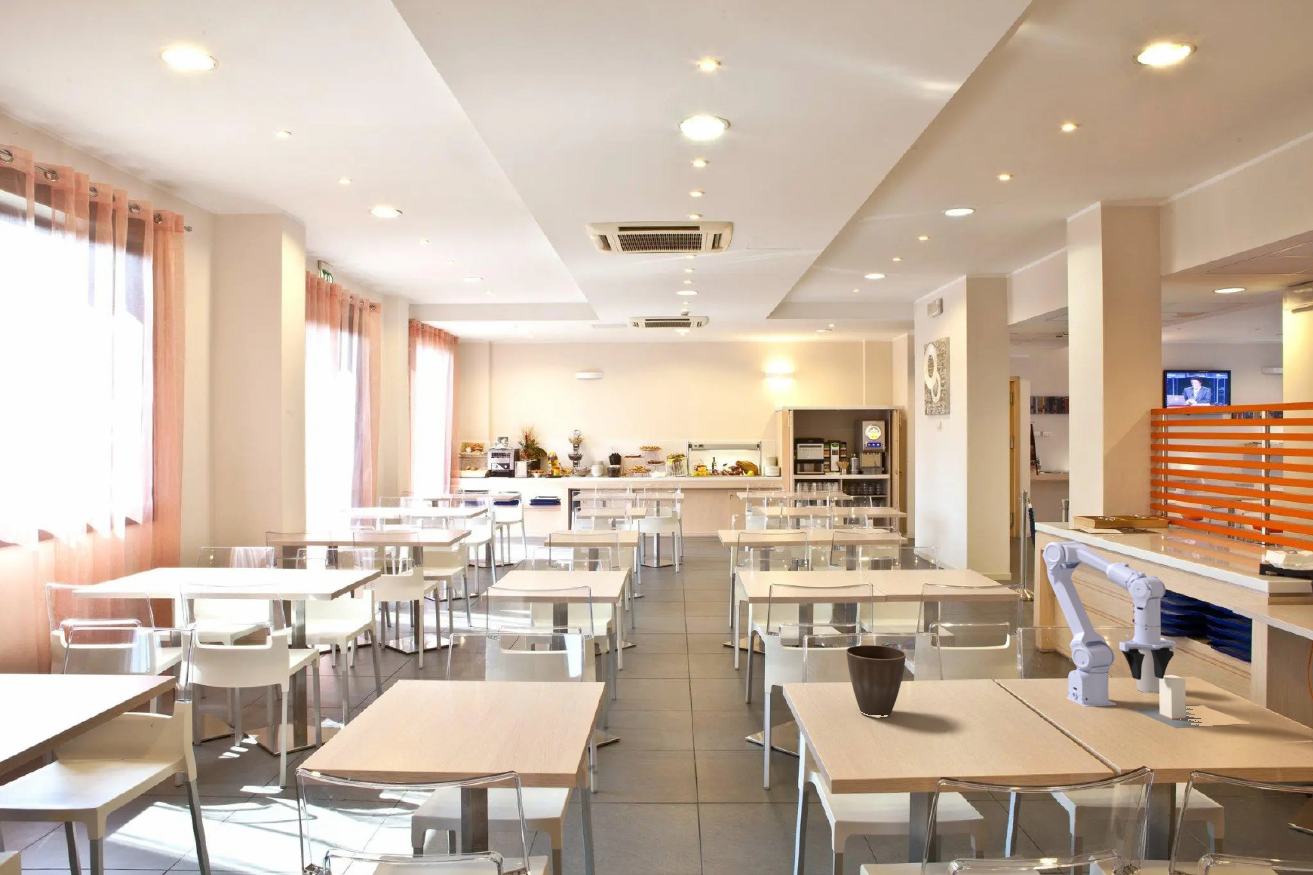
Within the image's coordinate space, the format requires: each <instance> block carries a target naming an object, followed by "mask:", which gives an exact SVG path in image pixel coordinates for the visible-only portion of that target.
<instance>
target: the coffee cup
mask: <svg viewBox="0 0 1313 875" xmlns="http://www.w3.org/2000/svg"><path fill="white" fill-rule="evenodd" d="M1131 640H1135V635H1134V636H1133V638H1132V639H1131ZM1161 640H1167V639H1165V638H1164V637H1161ZM1139 651H1140V653H1142V654H1144V655H1145V656H1144V659H1143V662H1142V674H1141V680H1137V679H1135V681H1136V690H1137V689H1138V690H1140V691H1139V692H1141V691H1143V692H1142V693H1144V692H1147V693H1146V694H1159V678H1157V677H1155V674H1154V661H1153V656H1152V652H1151V650H1139ZM1164 675H1166V673H1165V674H1164ZM1138 690H1137V691H1138ZM1148 692H1149V693H1148Z"/></svg>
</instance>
